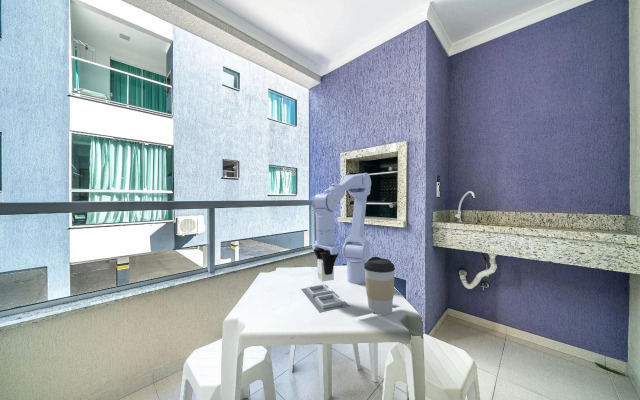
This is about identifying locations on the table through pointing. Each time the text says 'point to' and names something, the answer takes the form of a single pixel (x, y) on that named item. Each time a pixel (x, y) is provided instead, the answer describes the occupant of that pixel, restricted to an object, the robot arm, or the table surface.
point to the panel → (324, 298)
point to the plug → (321, 272)
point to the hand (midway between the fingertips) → (325, 272)
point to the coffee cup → (379, 285)
